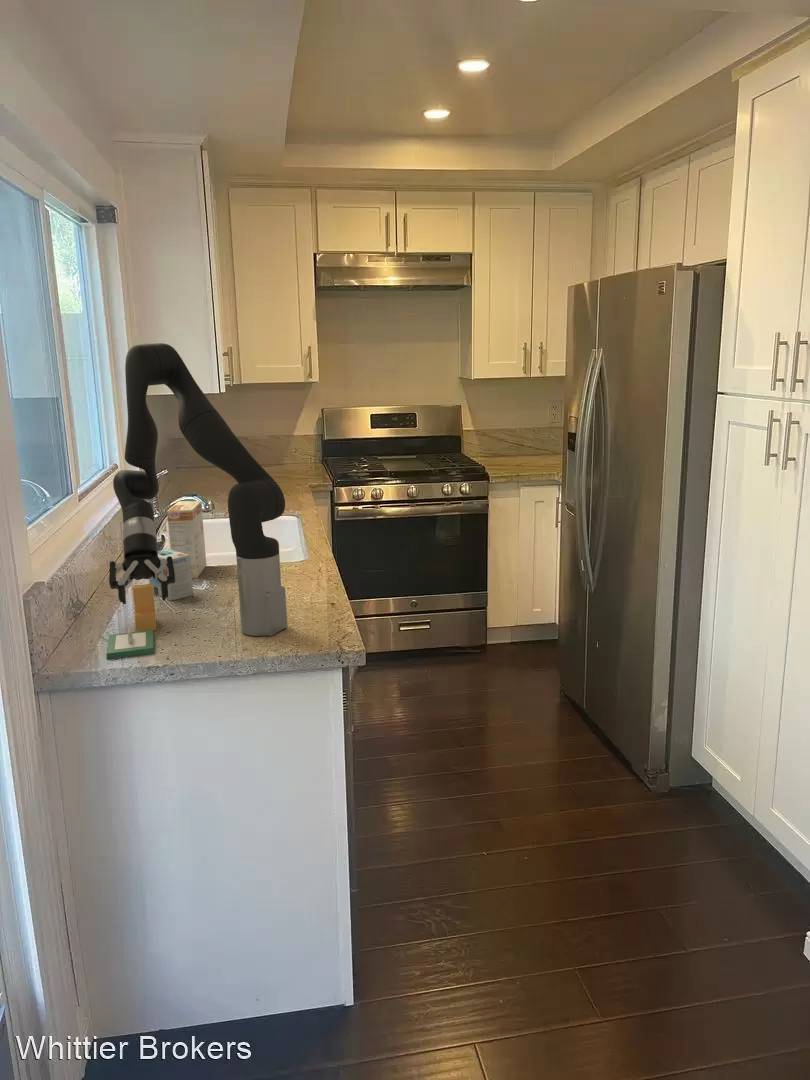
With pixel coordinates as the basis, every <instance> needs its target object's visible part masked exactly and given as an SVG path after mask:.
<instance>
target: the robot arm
mask: <svg viewBox="0 0 810 1080" xmlns="http://www.w3.org/2000/svg"><path fill="white" fill-rule="evenodd" d="M124 368H125V369H124V371H125V390H126V392H125V394H126V395H125V396H126V407H127V409H126V410H127V433H126V440H125V448H124V460H125V462H126V463H127V464H129V465H130V466H132V467H134V468H137V469H138V468H139V469H140V470H131V469H130V470H129V469H121V470H118V471H117V472H116V473H115V475H114V476H113V481H112V485H113V491H114V493H115V497H117V500H118V502H119V505H120V508H121V511H122V521H123V528H122V542H123V543H122V544H123V561H122V562H119V563H116V562H115V561H114V560H112V561H110V562H109V575H108V583H109V588H110V589H111V590H114V589H117V591H118V592H117V593H118V602H120V603H122V605H127V598H126V595H127V593H126V587H127V586H128V585H130V584H131V583H132V581H133V580H135V581H140V580H149V579H150V578H151V577H153V578H154V579H155V580H156V581H158V582H159V583H160V584H161V590H162V597H161V598H162V599H161V600H162V601H166V600H167V599H165V598H167V597H168V584H170V583H175V572H174V566H173V560H172V557H170V556H169V557H167V559H162V560H160V559H159V558H158V551H159V549H158V537H157V531H156V527H155V516H154V515H155V512H154V507H153V505H152V503H150V502H149V500H153V499H154V498H155V497H156V496H157V495H158V493H159V491H160V486H159V479H158V475H157V470H156V454H157V449H158V447H157V446H158V439H159V434H158V433H159V431H158V428H157V424H156V422H155V420H154V418H153V416H152V414H151V412H150V409H149V406H148V404H147V393H148V388H149V386H158V385H161V386H162V385H165V386H167V387H168V389H169V390H171V392H172V393H173V395H174V397H175V398H176V399H177V401H178V413H177V414H178V417H177V418H178V419H177V420H178V426H179V430H180V432H181V434H182V436H183V437H184V439H186V441H187V442H188V444H189V445H190V446H191V448H192V449H193V450H194V452H195V453H196V454H197V455H198V456H199V457H201V458H202V459H204V461H205V460H206V462H209V463H210V464H211V465H213V466H215V467H216V468H219V469H221V470H222V471H223V472H225V473H226V474H228V475H229V476H231V478H233V479H234V480H235V481H236V482H237V483H235V484H234V485H232V487H231V488H230V490H229V493H228V498H227V511H228V519H229V520H228V521H229V527H230V536H231V541H232V543H233V546H234V549H235V554H236V556H235V557H236V559H235V560H236V573H237V585H238V587H237V588H238V600H239V613H240V614H239V615H240V627H241V633H243V634H244V635H247V636H253V637H262V636H263V637H264V636H269V637H271V636H272V637H273V636H274V635H276V634H278V633H280V632H282V631H283V629H284V630H286V629H288V617H287V616H288V615H287V614H288V613H287V612H288V611H287V597H286V587H285V586H282V577H281V561H280V560H281V559H280V544H279V541H278V540H277V539H276V538H274V537H269V536H266V535H265V534H264V530H263V523H266V522H270V521H273V520H277V519H278V518H280V517H281V516H282V515H283V514H284V512H285V509H286V500H285V495H284V493H283V490H282V488H281V487H280V485H279V484H278V483H277V482H276V480H275V479H274V478H273V477H272V476H271V475H270V474H269V472H267V471H266V469H264V468H263V467H262V465H261V464H259V462H257V460H256V459H255V458H254V456H252V454H251V453H250V452H249V451H248V450H247V448H246V447H245V446H244V445H243V444H242V442H241V441H240V440H239V438H238V437H237V436H236V435H235V433H234V432H233V431H232V430H231V428H230V426H229V425H228V423H227V422H226V421H225V419H224V418H223V417H222V415H221V414H220V413H219V412H218V410H216V408H215V406H213V404H212V403H211V402H210V400H209V399H208V397H207V396H206V395H205V393H204V391H202V389H201V387H200V386H199V385H198V383H197V382H196V380H195V379H194V377H193V375H192V374H191V372H190V370H189V368H188V367H187V365H186V364H185V362H184V360H183V358H182V357H181V355H180V354H179V352H178V351H177V350H176V349H175V348H174V347H173V346H171V345H170V344H168V343H164V342H162V343H161V342H157V343H156V342H155V343H138V344H133V345H132V346H131V347H129V349H128V350H127V352H126V356H125V365H124ZM161 565H163V566H164V567H165V568H166V569H168V572H169V576H167V577H165V576H164V575H163V574H162V573H161V571H160V570H159V568H160V566H161ZM121 569H123V571H124V573H123V574H122V577H121V578H120V579H119V580H117V574H118V573H120V570H121ZM285 628H286V629H285ZM281 630H282V631H281ZM279 631H280V632H279ZM277 632H278V633H277Z"/></svg>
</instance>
